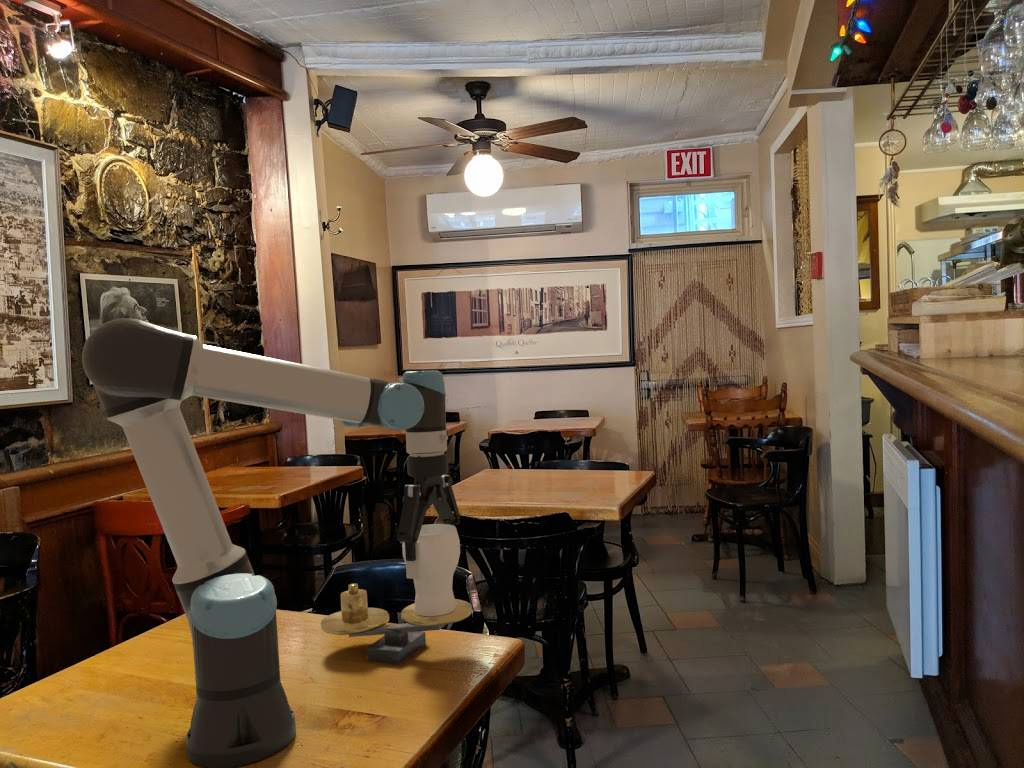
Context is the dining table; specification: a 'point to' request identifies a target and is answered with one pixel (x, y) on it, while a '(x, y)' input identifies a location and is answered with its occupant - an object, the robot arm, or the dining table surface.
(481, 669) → the dining table surface
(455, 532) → the cup
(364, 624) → the balance
